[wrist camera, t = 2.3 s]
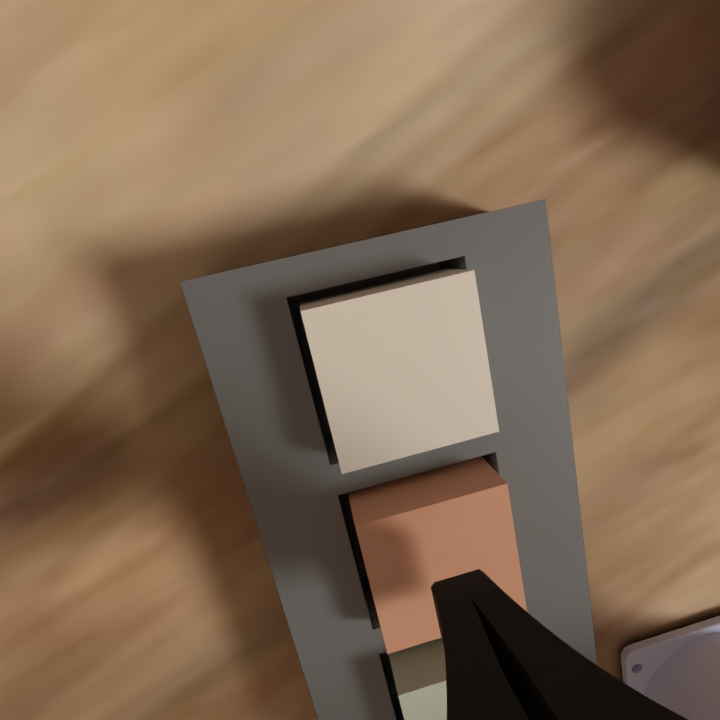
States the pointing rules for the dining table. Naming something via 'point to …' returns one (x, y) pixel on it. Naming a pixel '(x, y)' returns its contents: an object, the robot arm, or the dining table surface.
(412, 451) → the cream key
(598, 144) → the dining table surface
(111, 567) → the dining table surface
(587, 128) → the dining table surface
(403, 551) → the terracotta key
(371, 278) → the key panel
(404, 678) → the sage key
